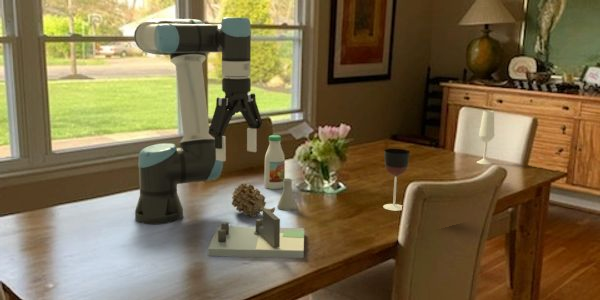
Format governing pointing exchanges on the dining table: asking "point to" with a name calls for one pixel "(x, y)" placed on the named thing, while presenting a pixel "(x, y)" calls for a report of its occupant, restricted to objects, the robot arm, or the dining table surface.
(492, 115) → the champagne flute
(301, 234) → the board
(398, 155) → the wineglass
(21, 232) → the dining table surface
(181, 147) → the robot arm
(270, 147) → the milk bottle
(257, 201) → the pine cone
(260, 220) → the gate
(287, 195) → the flask
